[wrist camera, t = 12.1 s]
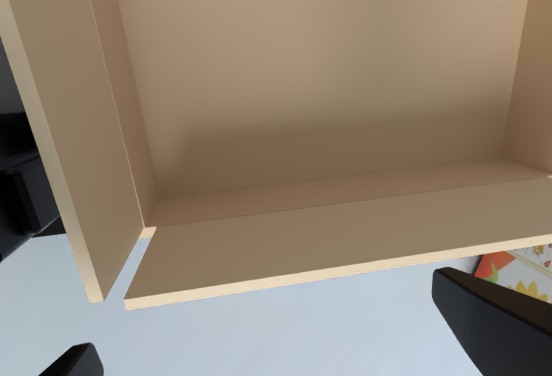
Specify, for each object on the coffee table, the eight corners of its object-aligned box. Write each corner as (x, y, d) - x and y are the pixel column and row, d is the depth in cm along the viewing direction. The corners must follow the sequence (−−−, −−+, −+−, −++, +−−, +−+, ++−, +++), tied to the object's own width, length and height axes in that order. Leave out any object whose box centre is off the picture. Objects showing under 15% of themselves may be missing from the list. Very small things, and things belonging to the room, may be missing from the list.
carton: (154, 205, 18) (92, 317, 10) (65, -196, 12) (-281, -790, 4) (500, 163, 21) (689, 222, 12) (562, -184, 15) (1000, -525, 6)
